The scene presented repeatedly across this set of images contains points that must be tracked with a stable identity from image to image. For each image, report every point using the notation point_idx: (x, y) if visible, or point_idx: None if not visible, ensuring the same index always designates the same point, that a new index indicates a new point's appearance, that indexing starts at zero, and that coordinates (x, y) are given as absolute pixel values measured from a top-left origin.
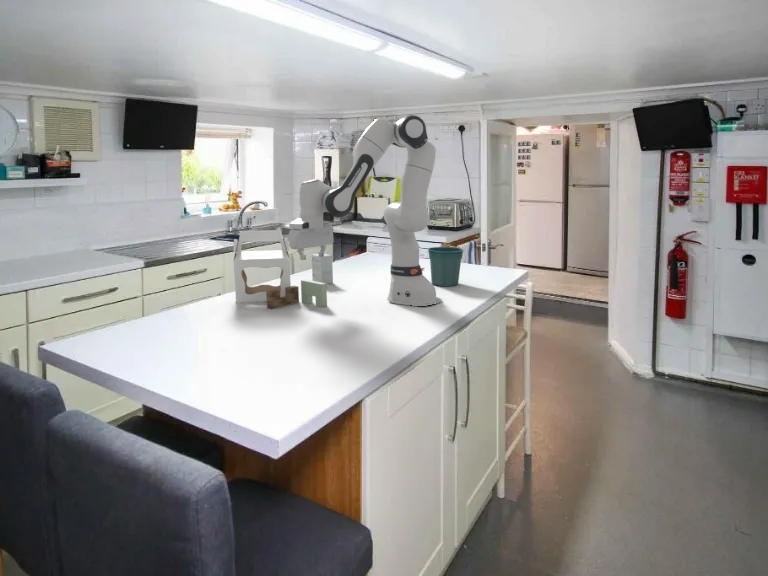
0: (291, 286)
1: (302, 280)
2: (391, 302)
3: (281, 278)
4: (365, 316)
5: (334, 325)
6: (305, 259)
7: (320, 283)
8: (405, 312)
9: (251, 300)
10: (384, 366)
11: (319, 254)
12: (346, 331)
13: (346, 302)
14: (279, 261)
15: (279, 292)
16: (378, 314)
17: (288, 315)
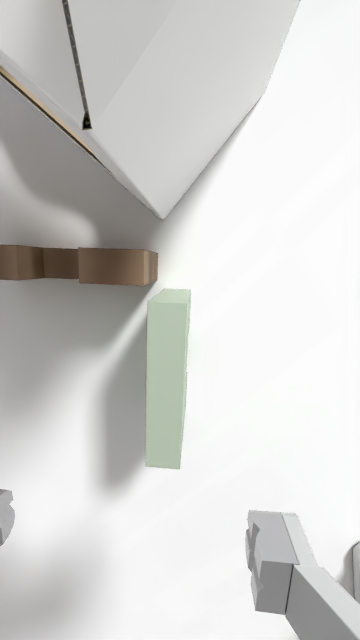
0: (119, 253)
1: (151, 312)
2: (353, 556)
3: (95, 156)
4: (167, 568)
5: (42, 553)
6: (6, 525)
7: (160, 445)
8: (276, 629)
9: (18, 92)
10: None
11: (258, 544)
12: (29, 601)
13: (272, 427)
14: (4, 62)
15: (20, 279)
16: (208, 584)
17: (12, 385)
